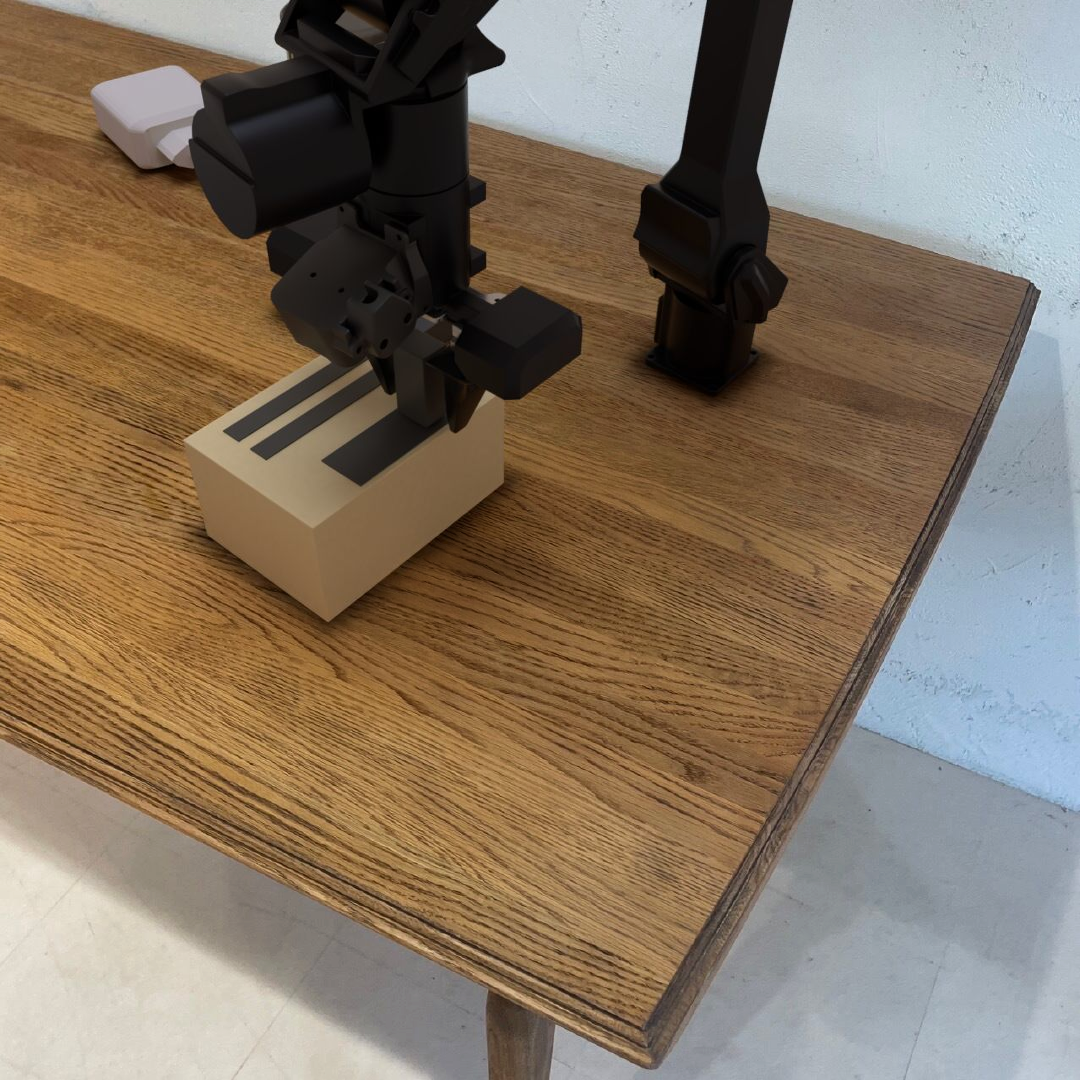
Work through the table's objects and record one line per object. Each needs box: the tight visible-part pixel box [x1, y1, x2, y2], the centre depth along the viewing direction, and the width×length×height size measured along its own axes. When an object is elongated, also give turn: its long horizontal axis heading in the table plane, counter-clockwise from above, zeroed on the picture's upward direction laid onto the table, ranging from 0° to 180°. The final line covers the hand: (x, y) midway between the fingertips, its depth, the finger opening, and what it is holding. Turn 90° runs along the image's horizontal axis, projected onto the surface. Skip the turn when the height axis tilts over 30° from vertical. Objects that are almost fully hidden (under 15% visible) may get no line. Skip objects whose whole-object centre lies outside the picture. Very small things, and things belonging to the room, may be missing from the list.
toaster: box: [182, 354, 506, 623], centre depth 71 cm, size 11×16×8 cm
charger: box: [90, 64, 204, 170], centre depth 104 cm, size 5×9×15 cm
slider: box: [393, 329, 447, 428], centre depth 66 cm, size 2×2×5 cm
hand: (425, 410), depth 68 cm, fingers open, 5 cm apart
